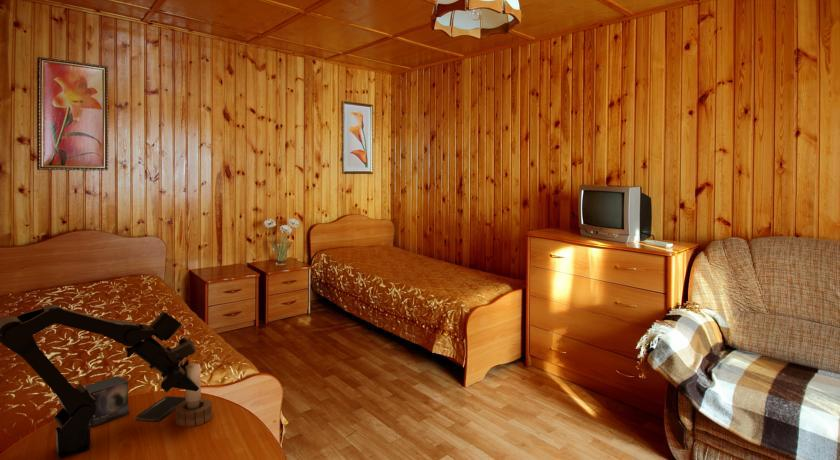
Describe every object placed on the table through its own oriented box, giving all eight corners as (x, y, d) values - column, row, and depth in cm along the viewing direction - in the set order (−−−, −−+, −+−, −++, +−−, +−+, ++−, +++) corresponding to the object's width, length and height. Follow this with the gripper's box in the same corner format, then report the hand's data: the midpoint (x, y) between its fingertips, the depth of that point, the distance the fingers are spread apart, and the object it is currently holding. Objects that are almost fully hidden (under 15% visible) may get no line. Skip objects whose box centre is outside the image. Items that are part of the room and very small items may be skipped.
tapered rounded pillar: (188, 413, 140) (188, 369, 139) (183, 408, 143) (183, 365, 142) (203, 409, 143) (202, 366, 142) (198, 404, 146) (197, 362, 145)
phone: (133, 417, 141) (166, 395, 156) (133, 421, 142) (166, 399, 156) (159, 419, 141) (189, 397, 155) (159, 423, 141) (189, 400, 156)
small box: (91, 428, 136) (89, 392, 135) (79, 422, 140) (78, 387, 139) (130, 414, 145) (129, 380, 144) (118, 408, 149) (117, 375, 148)
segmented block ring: (182, 430, 137) (182, 416, 136) (171, 417, 143) (171, 404, 143) (216, 419, 143) (216, 406, 143) (204, 408, 150) (204, 395, 150)
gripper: (174, 342, 131) (218, 377, 136) (179, 323, 148) (219, 355, 153) (141, 374, 129) (187, 408, 134) (151, 351, 146) (192, 382, 151)
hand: (198, 386), depth 143 cm, fingers closed on tapered rounded pillar, 4 cm apart
